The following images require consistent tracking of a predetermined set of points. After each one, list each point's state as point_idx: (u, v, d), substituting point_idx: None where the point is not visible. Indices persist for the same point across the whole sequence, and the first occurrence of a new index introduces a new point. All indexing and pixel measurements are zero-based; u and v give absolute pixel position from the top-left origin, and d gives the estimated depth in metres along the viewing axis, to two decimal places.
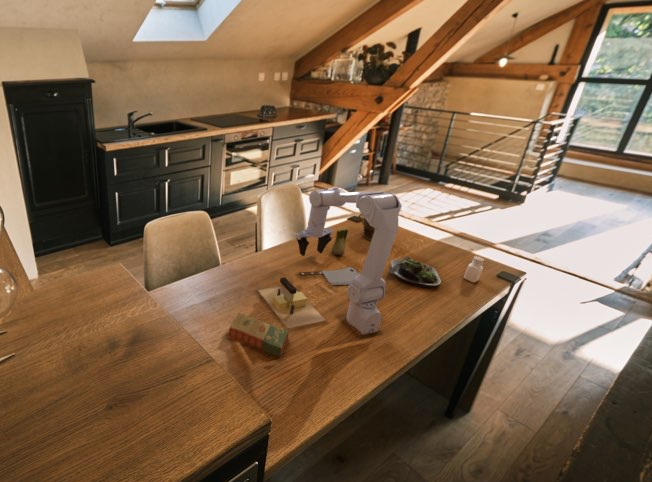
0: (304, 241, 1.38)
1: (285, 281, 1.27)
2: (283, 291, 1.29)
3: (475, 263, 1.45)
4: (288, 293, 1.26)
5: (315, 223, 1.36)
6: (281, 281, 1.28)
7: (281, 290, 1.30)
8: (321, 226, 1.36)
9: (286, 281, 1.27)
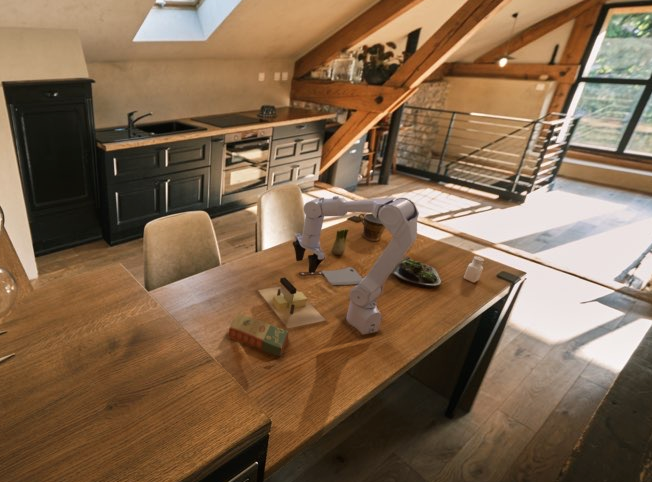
0: (295, 242, 1.36)
1: (285, 281, 1.27)
2: (283, 291, 1.29)
3: (475, 263, 1.45)
4: (288, 293, 1.26)
5: (313, 235, 1.27)
6: (281, 281, 1.28)
7: (281, 290, 1.30)
8: (304, 235, 1.29)
9: (286, 281, 1.27)
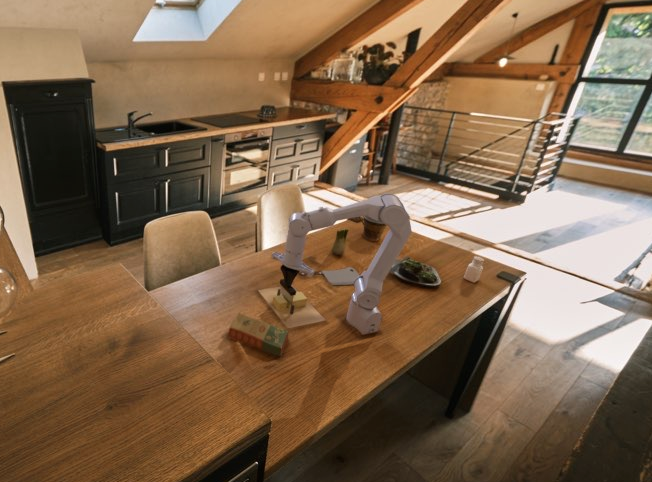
0: (283, 267, 1.23)
1: None
2: (283, 292, 1.29)
3: (475, 263, 1.45)
4: (288, 294, 1.26)
5: (300, 253, 1.18)
6: (281, 283, 1.28)
7: (281, 292, 1.30)
8: (288, 254, 1.19)
9: None
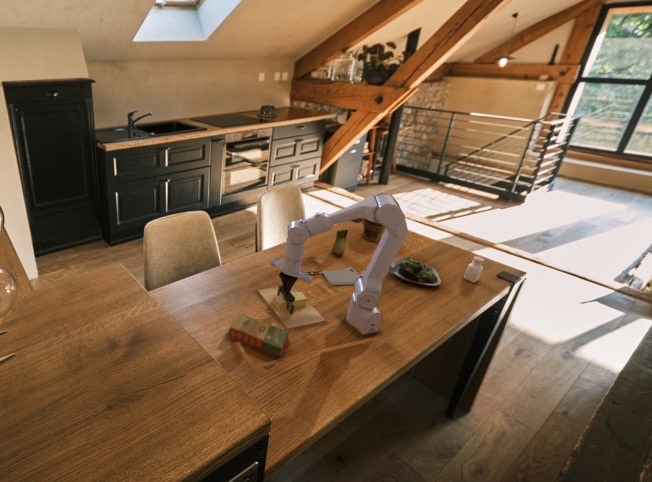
0: (282, 274, 1.24)
1: None
2: None
3: (475, 263, 1.45)
4: None
5: (299, 260, 1.19)
6: (280, 289, 1.29)
7: None
8: (287, 262, 1.20)
9: None
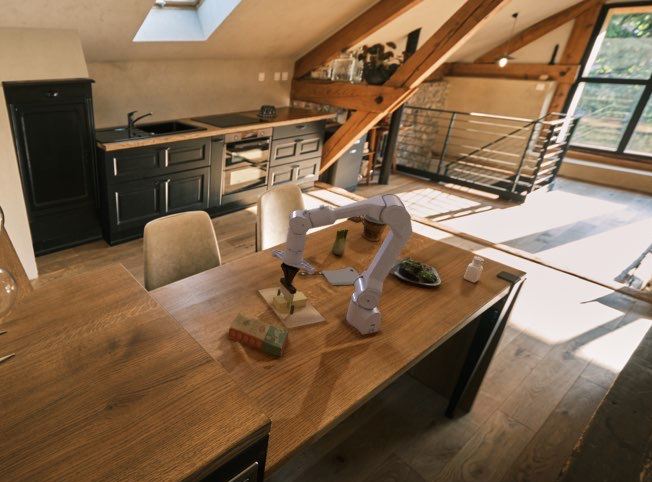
0: (283, 265, 1.23)
1: None
2: (283, 291, 1.29)
3: (475, 263, 1.45)
4: (288, 293, 1.26)
5: (300, 251, 1.18)
6: (281, 281, 1.28)
7: (281, 290, 1.30)
8: (289, 252, 1.19)
9: None
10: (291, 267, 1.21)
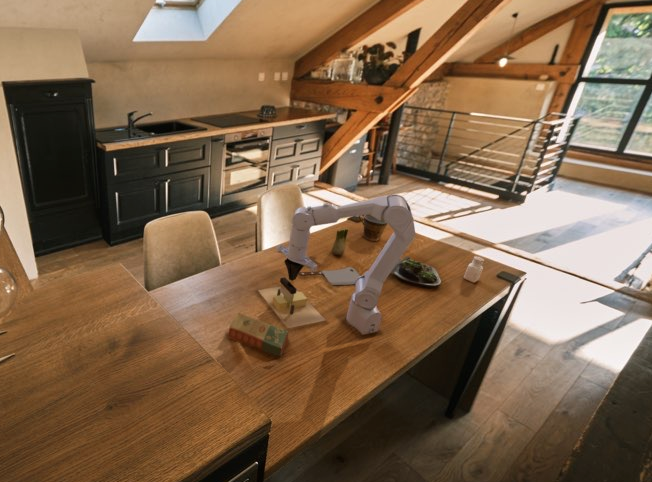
0: (287, 260, 1.25)
1: (285, 281, 1.27)
2: (283, 291, 1.29)
3: (475, 263, 1.45)
4: (288, 293, 1.26)
5: (303, 247, 1.20)
6: (281, 281, 1.28)
7: (281, 290, 1.30)
8: (292, 248, 1.21)
9: (286, 281, 1.27)
10: (294, 263, 1.23)
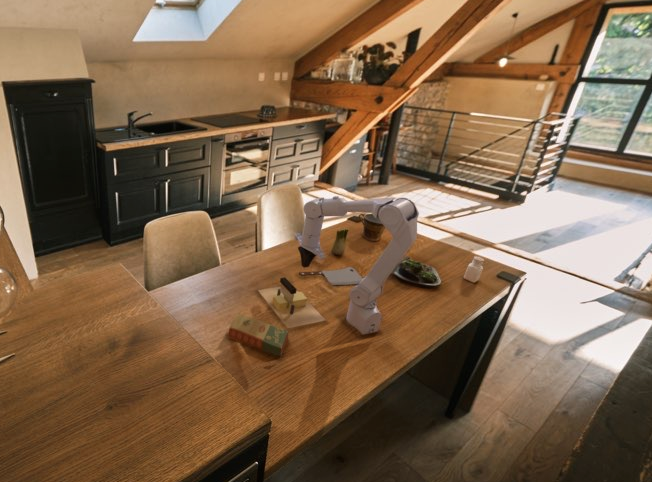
0: (300, 247, 1.33)
1: (285, 281, 1.27)
2: (283, 291, 1.29)
3: (475, 263, 1.45)
4: (288, 293, 1.26)
5: (313, 235, 1.27)
6: (281, 281, 1.28)
7: (281, 290, 1.30)
8: (304, 235, 1.29)
9: (286, 281, 1.27)
10: (306, 250, 1.31)
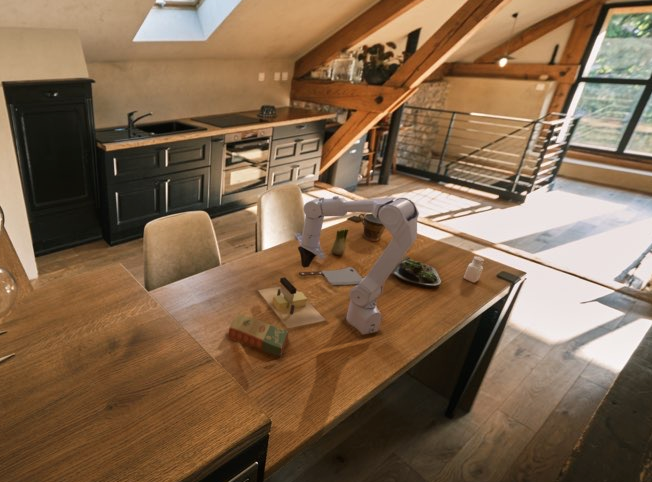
0: (300, 247, 1.33)
1: (285, 281, 1.27)
2: (283, 291, 1.29)
3: (475, 263, 1.45)
4: (288, 293, 1.26)
5: (313, 235, 1.27)
6: (281, 281, 1.28)
7: (281, 290, 1.30)
8: (304, 235, 1.29)
9: (286, 281, 1.27)
10: (306, 250, 1.31)
